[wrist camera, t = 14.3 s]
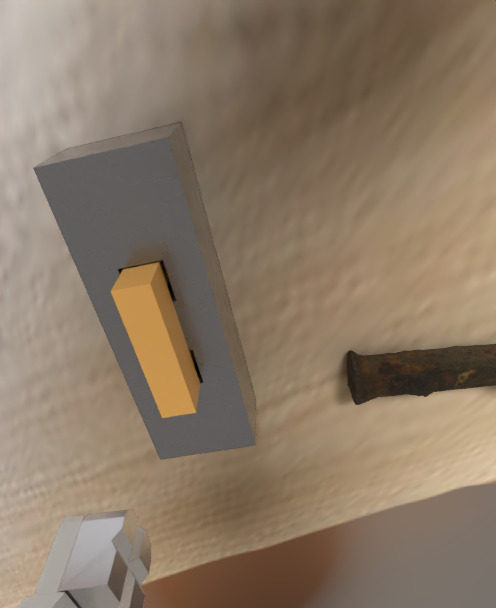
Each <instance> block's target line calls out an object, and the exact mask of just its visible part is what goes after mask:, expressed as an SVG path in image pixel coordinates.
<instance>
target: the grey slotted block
mask: <svg viewBox="0 0 496 608" xmlns="http://www.w3.org/2000/svg"><path fill="white" fill-rule="evenodd" d="M34 171H35V173H36V175H37V178H38V180H39V182H40V184H41V187H42V189H43V191H44V194H45V196H46V198H47V200H48V203H49V205H50V207H51V210H52V212H53V214H54V217H55V219H56V221H57V223H58V226H59V228H60V230H61V233H62V235H63V237H64V239H65V242H66V244H67V246H68V249H69V251H70V253H71V256H72V258H73V260H74V262H75V265H76V267H77V269H78V272H79V274H80V276H81V279H82V281H83V283H84V285H85V288H86V290H87V292H88V295H89V297H90V299H91V301H92V304H93V306H94V308H95V311H96V313H97V315H98V318H99V320H100V322H101V324H102V327H103V329H104V331H105V334H106V336H107V338H108V340H109V343H110V345H111V347H112V350H113V352H114V354H115V357H116V359H117V361H118V363H119V366H120V368H121V370H122V373H123V375H124V377H125V379H126V382H127V384H128V386H129V389H130V391H131V393H132V396H133V398H134V400H135V402H136V405H137V407H138V409H139V412H140V414H141V416H142V418H143V421H144V423H145V425H146V428H147V430H148V432H149V435H150V437H151V439H152V441H153V444H154V446H155V448H156V451H157V453H158V455H159V457H160V459H167V458H174V457H180V456H187V455H194V454H201V453H207V452H214V451H221V450H227V449H234V448H241V447H247V446H254V445H256V398H255V395H254V391H253V387H252V383H251V380H250V376H249V372H248V369H247V365H246V361H245V357H244V354H243V350H242V346H241V342H240V339H239V335H238V331H237V327H236V324H235V320H234V316H233V312H232V309H231V305H230V301H229V297H228V294H227V290H226V286H225V283H224V279H223V275H222V271H221V268H220V264H219V260H218V256H217V253H216V249H215V245H214V241H213V238H212V234H211V230H210V226H209V223H208V219H207V215H206V211H205V208H204V204H203V200H202V197H201V193H200V189H199V185H198V182H197V178H196V174H195V170H194V167H193V163H192V159H191V155H190V152H189V148H188V144H187V140H186V137H185V133H184V129H183V126H182V122H180V123H176V124H171V125H167V126H163V127H158V128H154V129H150V130H145V131H141V132H137V133H132V134H128V135H124V136H119V137H115V138H111V139H106V140H102V141H98V142H93V143H89V144H85V145H80V146H76V147H72V148H67V149H65V150H64V151H62V152H60V153H58V154H57V155H55V156H53V157H51V158H50V159H48V160H46V161H44V162H43V163H41V164H39V165H37V166H36V167H34ZM161 260H163V262H164V265H165V268H166V271H167V274H168V277H169V282H168V285H167V286H168V289H169V292H170V295H171V298H172V301H173V304H174V307H175V310H176V313H177V316H178V319H179V322H180V325H181V328H182V331H183V334H184V337H185V340H186V343H187V346H188V349H189V350H193V352H194V355H195V359H196V361H195V370H196V372H197V375H198V378H199V381H200V391H199V397H198V404H197V411H196V413H191V414H185V415H179V416H173V417H166V418H162V416H161V414H160V411H159V409H158V407H157V404H156V402H155V399H154V397H153V394H152V392H151V389H150V387H149V384H148V382H147V380H146V377H145V375H144V372H143V370H142V367H141V365H140V362H139V360H138V357H137V355H136V353H135V350H134V348H133V345H132V343H131V340H130V338H129V335H128V333H127V330H126V328H125V326H124V323H123V321H122V318H121V316H120V313H119V311H118V308H117V306H116V303H115V301H114V299H113V296H112V294H111V290H112V288H113V286H114V284H115V283H116V281H117V279H118V277H119V276H120V274H121V272H122V270H123V269H127V268H132V267H137V266H139V265H141V264H146V263H151V262H156V261H161Z"/></svg>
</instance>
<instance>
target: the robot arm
mask: <svg viewBox="0 0 496 608" xmlns="http://www.w3.org/2000/svg"><path fill="white" fill-rule="evenodd" d="M137 523H138V516H137V515H136V513H135V511H134V510H133V509H131V510H122V511H113V512H105V513H96V514H85V515H78V516H70V517H66V518H65V519H64V520H63V522H62V523H61V524H60V526H59V529H58V532H57V534H56V537H55V540H54V542H53V545H52V548H51V550H50V553H49V556H48V558H47V561H46V564H45V566H44V569H43V572H42V574H41V577H40V580H39V582H38V585H37V588H36V591H35V593H34V595H30V596H27V597H26V598H25V599H24V600H23V601H22V602H21V603H20V605H19V606H18V607H17V608H143V603H144V598H145V595H144V592H143V590H142V588H141V586H140V585H141V583H142V582H143V581H144V579H145V578H146V577H147V575H148V574H149V570H150V563H151V544H150V540H149V536H148V534H147V532H146V530H145V529H143V528H141V527H139V526H137Z"/></svg>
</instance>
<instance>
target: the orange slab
mask: <svg viewBox="0 0 496 608" xmlns="http://www.w3.org/2000/svg"><path fill="white" fill-rule="evenodd" d="M168 282H169V277H168V274H167V271H166V268H165V265H164V262H163V260H161V261H156V262H151V263H146V264H141V265H139V266H137V267H132V268H127V269H123V270H122V272H121V274H120V276H119V277H118V279H117V281H116V283H115V284H114V286H113V288H112V290H111V294H112V296H113V299H114V301H115V303H116V306H117V308H118V311H119V313H120V316H121V318H122V321H123V323H124V326H125V328H126V330H127V333H128V335H129V338H130V340H131V343H132V345H133V348H134V350H135V353H136V355H137V357H138V360H139V362H140V365H141V367H142V370H143V372H144V375H145V377H146V380H147V382H148V384H149V387H150V389H151V392H152V394H153V397H154V399H155V402H156V404H157V407H158V409H159V411H160V414H161V416H162V418H166V417H173V416H179V415H185V414H191V413H196V411H197V404H198V397H199V391H200V381H199V378H198V375H197V372H196V370H195V361H196V359H195V355H194V352H193V350H189V349H188V346H187V343H186V340H185V337H184V334H183V331H182V328H181V325H180V322H179V319H178V316H177V313H176V310H175V307H174V304H173V301H172V298H171V295H170V292H169V289H168V286H167V285H168Z"/></svg>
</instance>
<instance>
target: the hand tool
mask: <svg viewBox="0 0 496 608" xmlns="http://www.w3.org/2000/svg"><path fill="white" fill-rule="evenodd" d="M347 378H348V386H349V388H350V392H351V395H352V398H353V401H354V403H355V404H356V405H359V404H362V403H365V402H367V401H369V400H371V399H374V398H377V397H384V396H396V395H404V394H410V395H417V396H422V395H423V396H425V397H426V396H428V395H429V394H431V393H433V392H437V391H446V390H455V389H466V388H475V387H484V386H493V385H496V344H490V345H474V346H453V347H449V348H443V349H431V350H413V351H401V352H397V353H386V354H380V355H369V356H362V355H358V354H356V353H355V352H353V351H349V352H348V360H347Z"/></svg>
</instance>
